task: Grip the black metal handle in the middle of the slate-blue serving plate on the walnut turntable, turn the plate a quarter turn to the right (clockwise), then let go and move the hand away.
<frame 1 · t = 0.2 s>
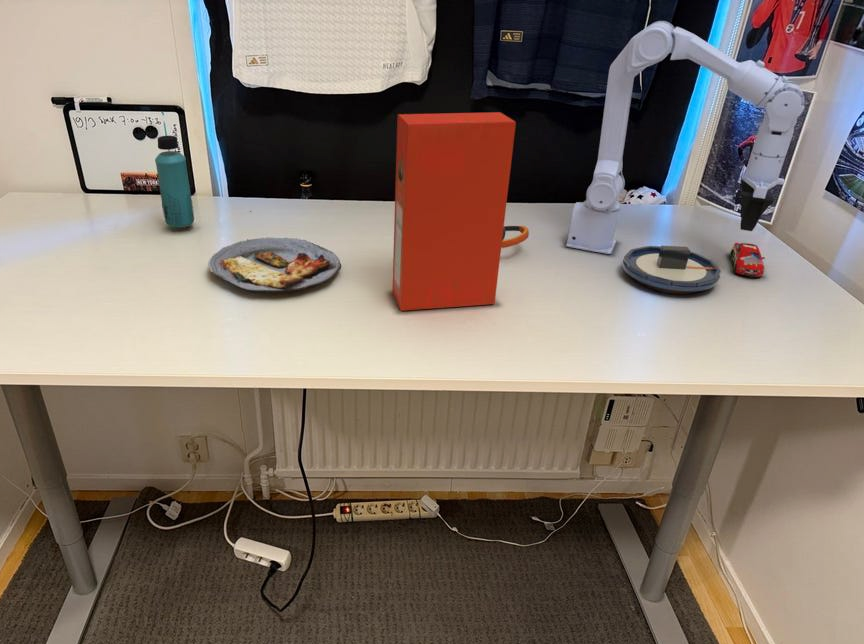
hand: (746, 223, 133), 10 cm above the table, tool pointing down, fingers open, 7 cm apart
turntable base: (667, 279, 134), on the table
food plate: (276, 273, 133), on the table
beverage bottle: (180, 229, 151), on the table
headphones: (481, 247, 146), on the table
race car: (744, 267, 141), on the table
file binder: (442, 299, 125), on the table
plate: (672, 259, 132), point 4 cm above the table, hinge at 0.0°
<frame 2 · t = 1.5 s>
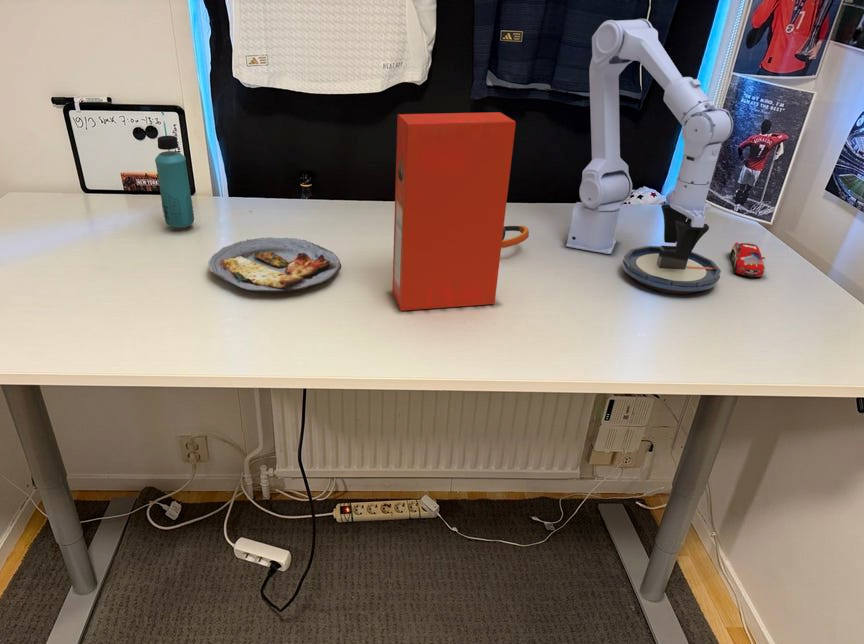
hand: (675, 249, 131), 6 cm above the table, tool pointing down, fingers open, 7 cm apart
nothing on the table moved.
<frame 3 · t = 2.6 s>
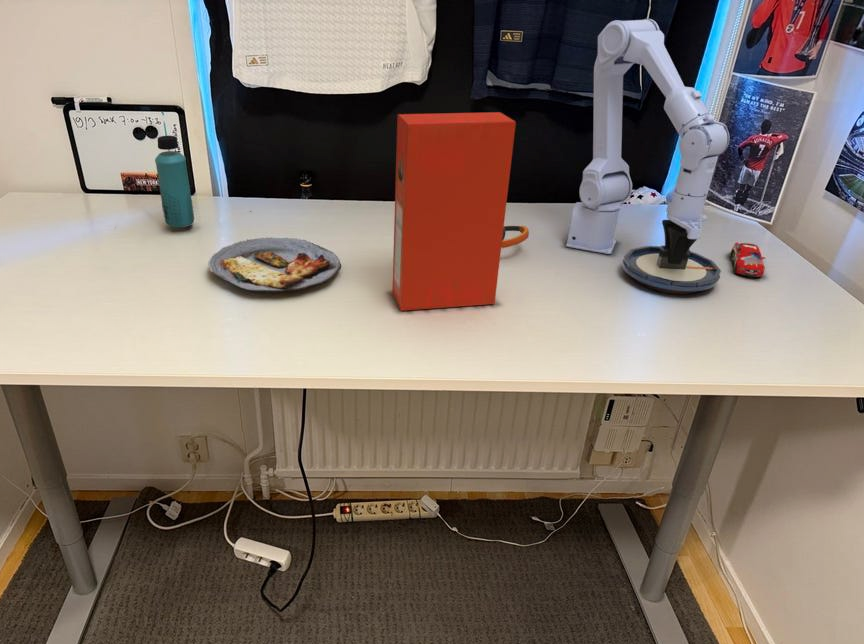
hand: (672, 260, 132), 4 cm above the table, tool pointing down, fingers closed on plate, 2 cm apart
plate: (672, 259, 132), point 4 cm above the table, hinge at 0.0°, touching gripper
everything else where it was.
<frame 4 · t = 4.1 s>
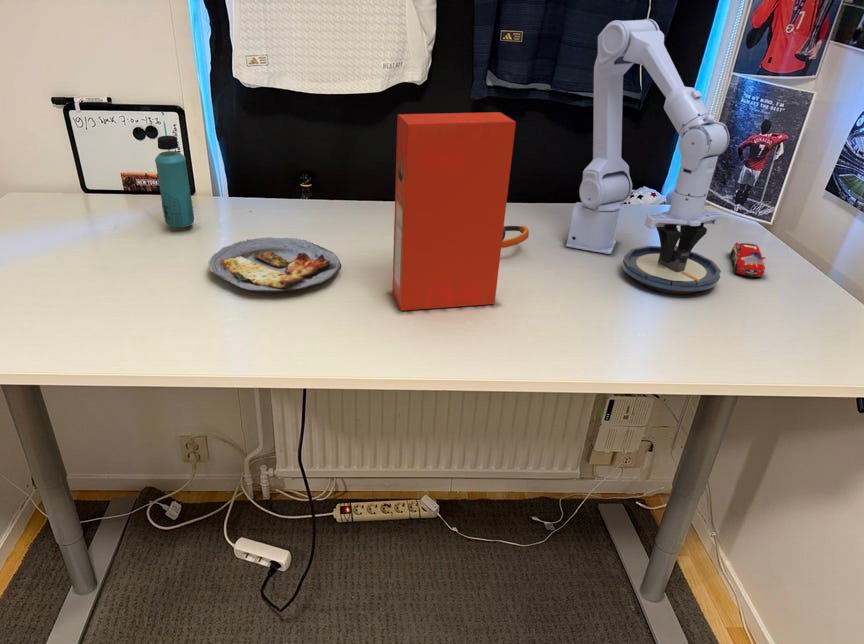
hand: (672, 260, 132), 4 cm above the table, tool pointing down, fingers closed on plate, 3 cm apart
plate: (672, 259, 132), point 4 cm above the table, hinge at -60.6°, touching gripper
everything else where it was.
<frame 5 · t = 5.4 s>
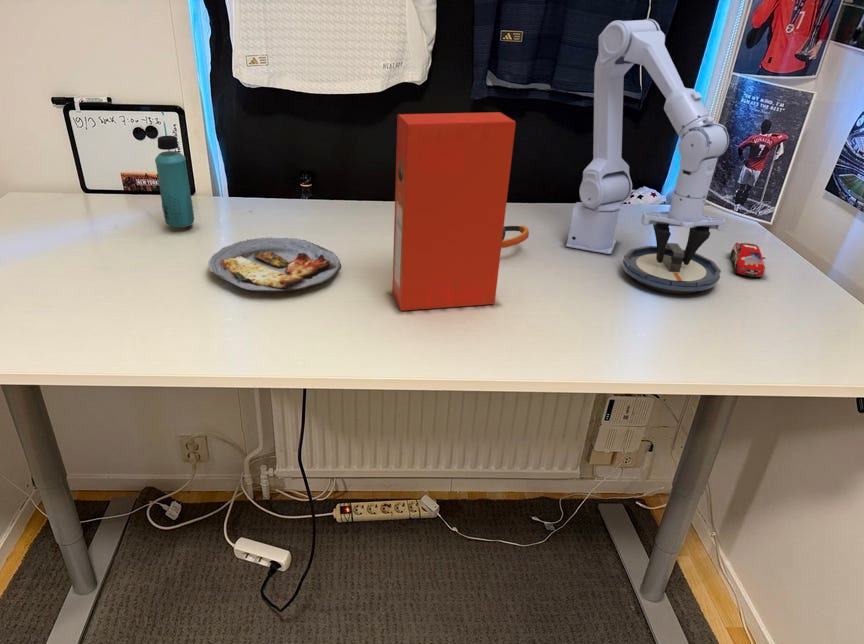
hand: (672, 261, 132), 4 cm above the table, tool pointing down, fingers open, 4 cm apart
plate: (672, 259, 132), point 4 cm above the table, hinge at -90.9°
everything else where it was.
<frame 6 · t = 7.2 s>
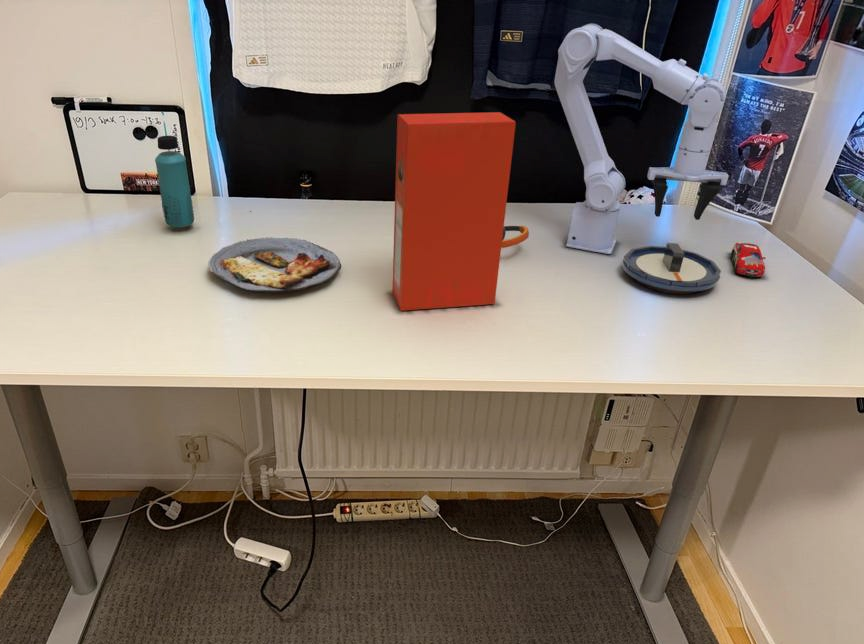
hand: (676, 216, 138), 9 cm above the table, tool pointing down, fingers open, 7 cm apart
nothing on the table moved.
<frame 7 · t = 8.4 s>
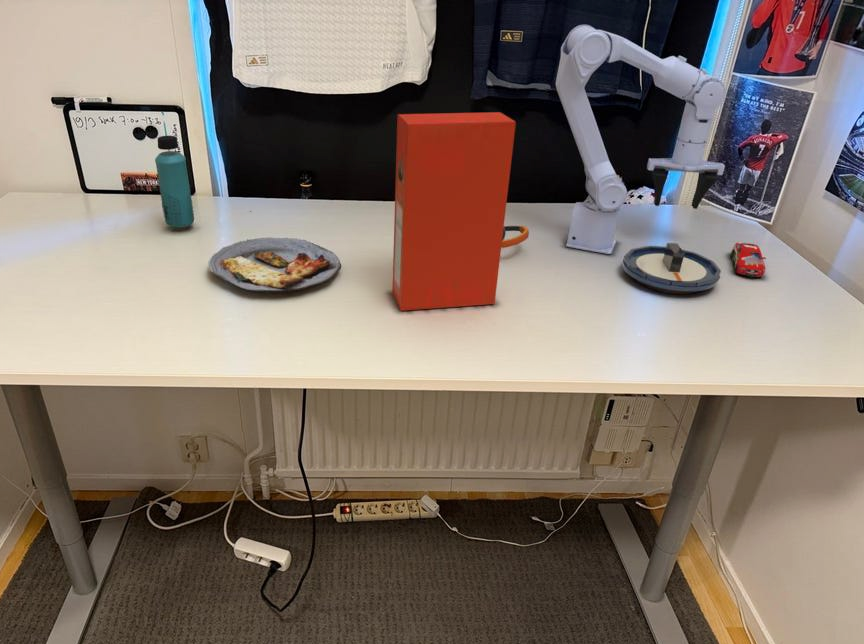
hand: (675, 205, 143), 9 cm above the table, tool pointing down, fingers open, 7 cm apart
nothing on the table moved.
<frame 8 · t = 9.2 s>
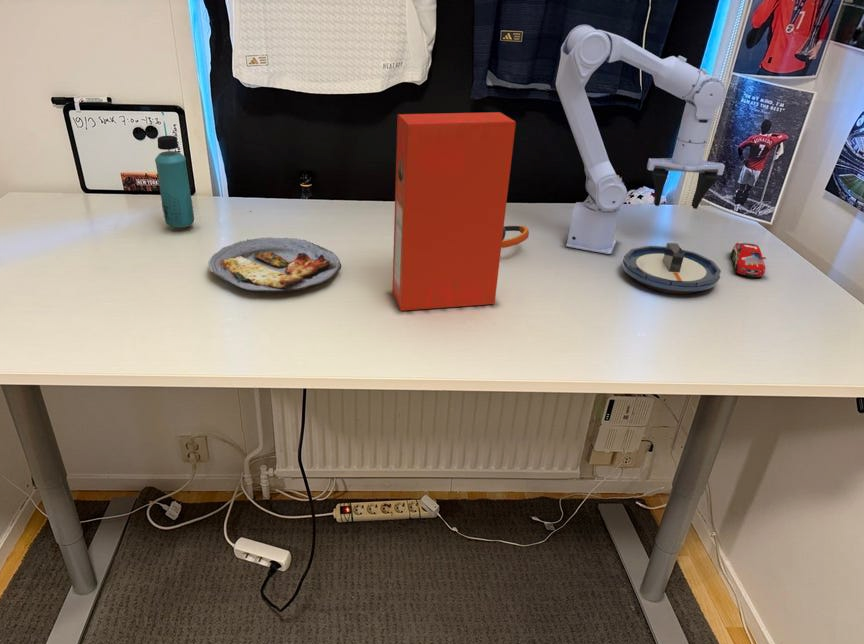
hand: (675, 205, 143), 9 cm above the table, tool pointing down, fingers open, 7 cm apart
nothing on the table moved.
at the end: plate at -91° (first picture: +0°) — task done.
